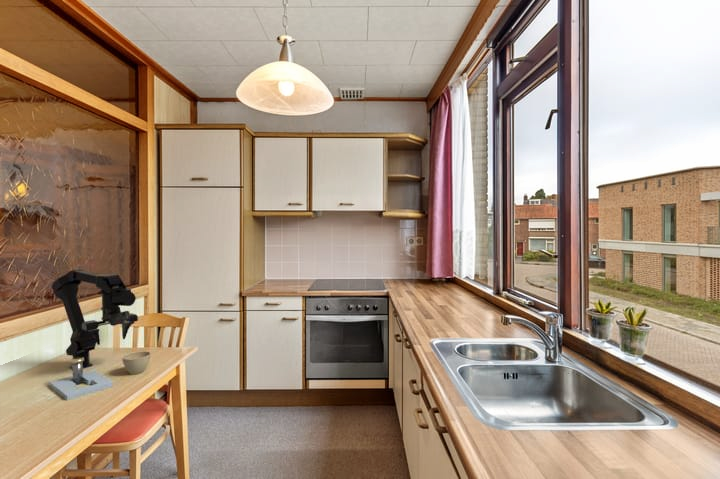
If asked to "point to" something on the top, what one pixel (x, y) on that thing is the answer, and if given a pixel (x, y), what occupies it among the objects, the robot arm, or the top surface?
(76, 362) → the bolt
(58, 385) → the keyhole board
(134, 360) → the grey bowl
